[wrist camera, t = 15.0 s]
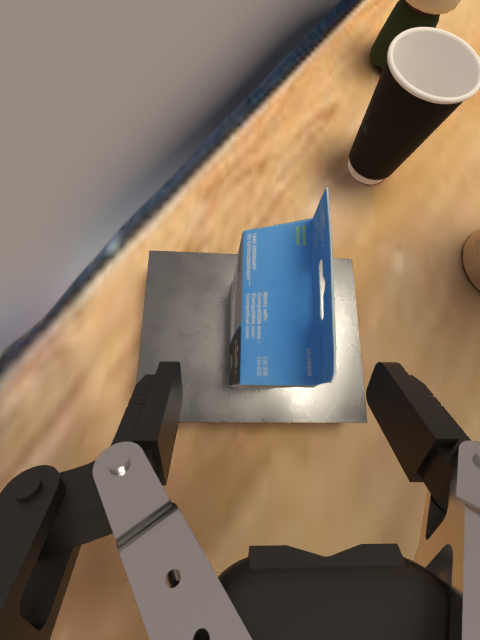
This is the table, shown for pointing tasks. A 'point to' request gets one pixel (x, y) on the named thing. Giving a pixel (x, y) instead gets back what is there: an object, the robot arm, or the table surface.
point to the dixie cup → (412, 99)
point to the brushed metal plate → (213, 345)
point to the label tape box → (284, 306)
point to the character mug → (408, 22)
